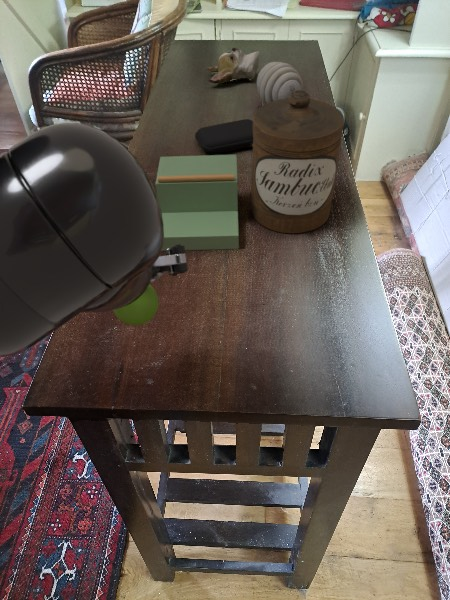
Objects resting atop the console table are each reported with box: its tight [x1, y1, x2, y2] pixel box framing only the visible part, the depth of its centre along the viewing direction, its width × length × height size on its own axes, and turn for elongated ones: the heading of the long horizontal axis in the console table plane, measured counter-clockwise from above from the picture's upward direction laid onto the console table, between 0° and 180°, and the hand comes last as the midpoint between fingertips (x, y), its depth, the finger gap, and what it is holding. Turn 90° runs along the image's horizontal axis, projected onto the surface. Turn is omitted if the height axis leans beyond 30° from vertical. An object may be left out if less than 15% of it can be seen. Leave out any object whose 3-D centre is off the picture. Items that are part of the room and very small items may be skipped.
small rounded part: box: [112, 283, 160, 326], centre depth 51 cm, size 5×6×12 cm
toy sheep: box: [256, 61, 304, 107], centre depth 111 cm, size 11×17×11 cm, turn 31°
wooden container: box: [250, 90, 345, 234], centre depth 79 cm, size 15×15×22 cm
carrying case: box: [194, 118, 253, 155], centre depth 103 cm, size 11×3×15 cm
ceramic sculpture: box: [205, 47, 261, 84], centre depth 126 cm, size 11×9×15 cm
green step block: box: [155, 154, 240, 252], centre depth 81 cm, size 14×16×10 cm
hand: (125, 272), depth 52 cm, fingers closed on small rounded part, 6 cm apart
